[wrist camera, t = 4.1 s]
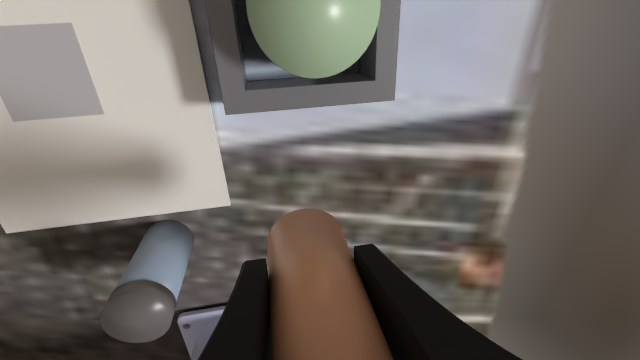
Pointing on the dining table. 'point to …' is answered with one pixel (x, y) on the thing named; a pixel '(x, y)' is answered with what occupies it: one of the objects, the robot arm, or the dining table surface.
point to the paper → (103, 113)
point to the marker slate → (149, 285)
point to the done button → (313, 33)
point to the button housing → (303, 92)
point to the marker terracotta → (318, 293)
